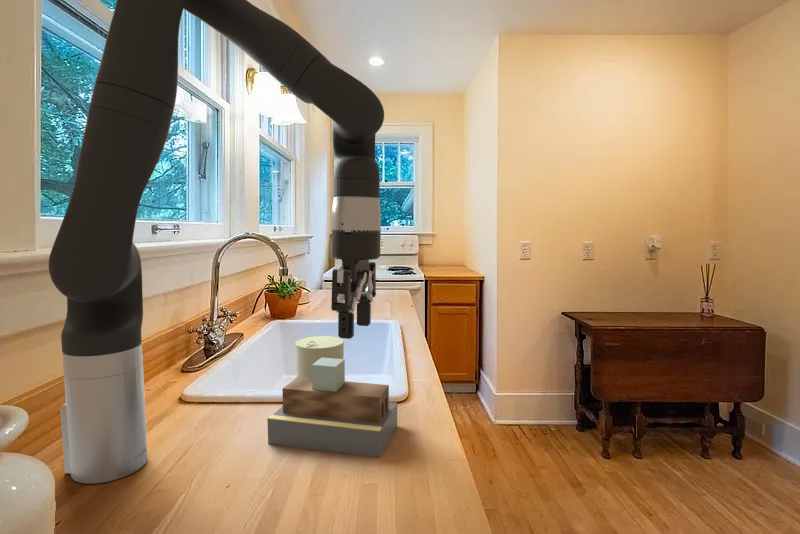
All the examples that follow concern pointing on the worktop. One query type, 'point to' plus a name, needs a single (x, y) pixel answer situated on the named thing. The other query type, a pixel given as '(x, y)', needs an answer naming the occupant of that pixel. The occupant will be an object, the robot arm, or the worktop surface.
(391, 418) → the dock
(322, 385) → the pale green cube
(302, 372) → the can
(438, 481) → the worktop surface
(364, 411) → the board
